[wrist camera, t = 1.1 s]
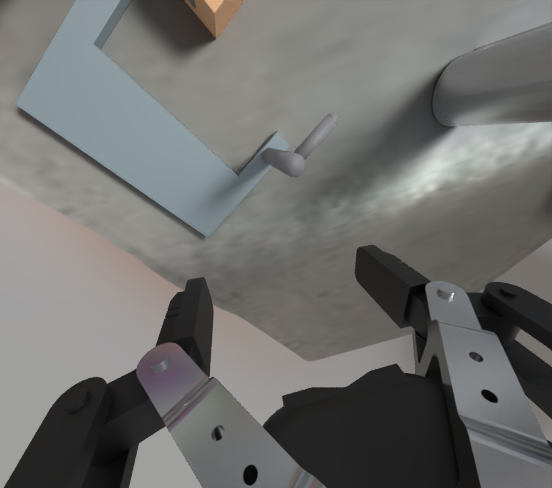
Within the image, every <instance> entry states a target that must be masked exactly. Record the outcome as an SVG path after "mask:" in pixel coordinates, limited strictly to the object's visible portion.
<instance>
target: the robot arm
mask: <svg viewBox="0 0 552 488" xmlns="http://www.w3.org/2000/svg"><path fill="white" fill-rule="evenodd" d="M432 105H433V112H434V116H435V118H436V119H437V121H438V122H439V123H440V124H442V125H444V126H469V125H492V124H512V123H533V122H552V22H550V23H547V24H545V25H542V26H539V27H536V28H533V29H530V30H528V31H525V32H522V33H519V34H516V35H513V36H510V37H508V38H505V39H502V40H499V41H496V42H493V43H490V44H488V45H485V46H482V47H479V48H477V49H476V50H475V51H472V52H469V53H467V54H464V55H461V56H459V57H457V58H456V59H455V60H453V61H452V62H451V63H450V64H449V65H448V66H447V67H446V68H445V70H444V71H443V73H442V74H441V76H440V78H439V80H438V82H437V84H436V87H435V90H434V94H433V103H432ZM355 276H356V279H357V281H358V283H359V284H360V285H361V286H362V287H363V288H364V289H365V290H366V291H367V293H368V294H369V295H370V296H371V297H372V298H373V299H374V300H375V301H376V302H377V303H378V305H379V306H380V307H381V308H382V309H383V310H384V311H385V312H386V313H387V314H388V315H389V317H390V318H391V319H392V320H393V321H394V322H395V323H396V324H397V325H398V326H399V327H400V329H401V328H404V327H408V326H412V327H413V328H414V330H413V334H412V335H413V345H414V346H413V347H414V358H415V374H409V373H404V372H403V371H402V370H401V369H400V367H399V366H398V365H397V364H393V365H390V366H386V367H382V368H379V369H375V370H372V371H369V372H368V373H366V374H365V375H364V376H362V377H361V378H359V379H358V380H356V381H355V382H353V383H352V384H350V385H349V386H347V387H343V388H340V387H338V388H337V387H336V388H334V387H333V388H332V387H330V388H326V387H325V388H324V387H323V388H322V387H320V388H319V387H318V388H317V387H312V388H308V389H305V390H301V391H298V392H294V393H291V394H287V395H284V396H282V398H283V407H282V408H280V409H279V410H277V411H276V412H275V413H274V414H273V415H272V416H271V417H270V418H269V419H268V420H267V421H266V422H265V423H264V425H263V426H261V425H260V424H259V423H258V422H257V421H256V420H255V419H254V418H253V417H252V415H251V414H250V413H249V412H248V411H247V410H246V409H245V408H244V407H243V406H242V405H241V404H240V403H239V402H238V401H237V400H236V399H235V398H234V397H233V396H232V394H231V393H230V392H229V391H228V390H227V389H226V388H225V387H224V386H223V385H222V384H221V383H220V382H219V381H218V380H217V379H216V378H214V377H212V378H209V377H210V362H211V346H212V330H213V304H212V300H211V296H210V293H209V290H208V286H207V283H206V280H205V278H204V277H200V278H195V279H190V280H188V281H187V284H186V287H185V291H183V292H178V293H177V294H176V295H175V296H174V297H173V299H172V300H171V301H170V304H169V307H168V311H167V313H166V316H165V319H164V322H163V325H162V328H161V331H160V334H159V338H158V341H157V344H156V347H155V348H153V349H151V350H150V351H149V352H147V353H146V354H145V355H144V357H143V358H142V359H141V360H140V362H139V364H138V366H137V369H135V370H134V371H132V372H130V373H128V374H126V375H124V376H122V377H120V378H118V379H116V380H114V381H112V382H110V383H108V384H107V383H106V381H105V380H104V379H102V378H100V377H93V378H88V379H86V380H83V381H81V382H79V383H77V384H75V385H74V386H72V387H71V388H70V389H68V390H67V391H66V392H65V393H63V394H62V395H61V396H60V397H59V398H58V399H57V400H56V402H55V403H54V404H53V405H52V407H51V408H50V410H49V412H48V413H47V415H46V417H45V419H44V420H43V422H42V424H41V426H40V427H39V429H38V430H37V432H36V434H35V435H34V438H33V439H32V441H31V442H30V444H29V446H28V447H27V449H26V451H25V452H24V454H23V456H22V458H21V459H20V461H19V463H18V464H17V466H16V468H15V470H14V471H13V473H12V475H11V476H10V478H9V480H8V481H7V483H6V485H5V487H4V488H129V484H130V480H131V476H132V471H133V466H134V463H135V458H136V454H137V450H138V445H139V443H140V442H141V441H143V440H145V439H146V438H148V437H149V436H151V435H153V434H154V433H155V432H157V431H159V430H160V429H162V428H164V427H165V426H166V427H167V429H168V430H169V432H170V433H171V435H172V437H173V439H174V440H175V442H176V444H177V446H178V447H179V449H180V451H181V452H182V454H183V456H184V457H185V459H186V461H187V462H188V464H189V466H190V467H191V469H192V471H193V472H194V474H195V476H196V478H197V479H198V481H199V482H200V484H201V486H202V488H552V442H550V441H548V440H546V438H545V436H544V434H543V432H542V430H541V427H540V425H539V423H538V421H537V419H536V417H535V415H534V413H533V411H532V409H531V406H530V404H529V402H528V400H527V398H526V396H527V397H528V398H529V399H530V400H531V401H533V402H534V403H535V404H536V405H537V406H538V407H539V408H540V409H541V410H542V411H544V412H545V413H546V414H547V415H548V416H549V417H550V418H551V419H552V367H551V366H550V365H548V364H547V363H545V362H544V361H543V360H542V359H540V358H539V357H538V356H536V355H535V354H534V353H532V352H531V351H529V350H528V349H527V348H525V347H524V346H523V345H521V344H520V343H519V342H517V341H516V340H515V338H516V336H517V334H518V333H519V331H520V329H522V330H524V331H525V332H527V333H528V334H529V335H531V336H532V337H534V338H535V339H537V340H539V341H540V342H541V343H543V344H544V345H545V346H547V347H548V348H550V349H551V350H552V304H550V303H548V302H547V301H545V300H543V299H541V298H539V297H537V296H536V295H534V294H532V293H530V292H528V291H526V290H524V289H522V288H520V287H518V286H515V285H511V284H508V283H501V282H491V283H488V284H487V285H486V287H485V289H484V291H483V293H466V292H465V291H463V290H462V289H461V288H459V287H457V286H455V285H453V284H450V283H446V282H439V281H435V282H431V281H430V280H428V279H427V278H425V277H424V276H423V275H421V274H420V273H418V272H417V271H415V270H414V269H413V268H411V267H409V266H408V265H407V264H405V263H404V262H402V261H401V260H400V259H398V258H397V257H396V256H394V255H391V254H389V253H386V252H383V251H382V250H380V249H379V248H378V247H376V246H375V245H368V246H363V247H359V248H358V249H357V254H356V265H355ZM525 395H526V396H525Z"/></svg>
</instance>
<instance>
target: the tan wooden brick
mask: <svg viewBox="0 0 552 488" xmlns="http://www.w3.org/2000/svg"><path fill="white" fill-rule="evenodd" d="M184 1H185V2H186V3H187V4H188V6H189V7H190V8H191V9H192V10H193V12H194V13H195V14H196V15H197V16H198V18H199V19H200V20H201V21H202V22H203V24H204V25H205V26H206V27H207V29H208V30H209V31H210V32H211V33H212V35H213V36H214V37H215V38H216V39H217V38H218V36H219V35H220V33H221V32H222V31H223V29H224V28H225V27H226V25H227V24H228V23H229V21H230V20H231V19H232V17H233V16H234V14H235V13H236V12H237V10H238V9H239V8H240V6H241V5H242V3H243V0H184Z"/></svg>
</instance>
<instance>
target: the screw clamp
mask: <svg viewBox="0 0 552 488" xmlns="http://www.w3.org/2000/svg"><path fill="white" fill-rule="evenodd" d="M130 2H131V0H76V1H75V2H74V4H73V6H72V8H71V9H70V11H69V13H68V14H67V16H66V18H65V20H64V21H63V23H62V25H61V26H60V28H59V30H58V32H57V33H56V35H55V37H54V38H53V40H52V42H51V44H50V45H49V47H48V49H47V50H46V52H45V54H44V56H43V57H42V59H41V61H40V62H39V64H38V66H37V68H36V69H35V71H34V73H33V74H32V76H31V78H30V80H29V81H28V83H27V85H26V86H25V88H24V90H23V92H22V93H21V95H20V97H19V98H18V100H17V102H16V105H17V106H18V107H20V108H21V109H23V110H24V111H26V112H27V113H29V114H30V115H31V116H33V117H34V118H36V119H37V120H39V121H40V122H41V123H43V124H44V125H46V126H47V127H49V128H50V129H52V130H53V131H54V132H56V133H57V134H59V135H60V136H62V137H63V138H65V139H66V140H67V141H69V142H70V143H72V144H73V145H75V146H76V147H78V148H79V149H80V150H82V151H83V152H85V153H86V154H88V155H89V156H91V157H92V158H93V159H95V160H96V161H98V162H99V163H101V164H102V165H103V166H105V167H106V168H108V169H109V170H111V171H112V172H114V173H115V174H116V175H118V176H119V177H121V178H122V179H124V180H125V181H127V182H128V183H129V184H131V185H132V186H134V187H135V188H137V189H138V190H140V191H141V192H142V193H144V194H145V195H147V196H148V197H150V198H151V199H153V200H154V201H155V202H157V203H158V204H160V205H161V206H163V207H164V208H165V209H167V210H168V211H170V212H171V213H173V214H174V215H176V216H177V217H178V218H180V219H181V220H183V221H184V222H186V223H187V224H189V225H190V226H191V227H193V228H194V229H196V230H197V231H199V232H200V233H202V234H203V235H204V236H206V237H207V238H209V237H210V236H211V234H212V233H213V232H214V231H215V230H216V229H217V228H218V227H219V225H220V224H221V223H222V222H223V221H224V220H225V219H226V218H227V216H228V215H229V214H230V213H231V212H232V211H233V210H234V209H235V207H236V206H237V205H238V204H239V203H240V202H241V201H242V200H243V199H244V197H245V196H246V195H247V194H248V193H249V192H250V191H251V190H252V188H253V187H254V186H255V185H256V184H257V183H258V182H259V181H260V179H261V178H262V177H263V176H264V175H265V174H266V173H267V172H268V170H269V169H270V168H271V167H272V166H273V167H275V168H277V169H278V170H280V171H282V172H283V173H285V174H287V175H289V176H291V177H297V176H299V175H301V174H302V173H303V171H304V169H305V159H306V158H307V157H308V156H309V155H310V153H311V152H312V151H313V150H314V149H315V148H316V147H317V146H318V145H319V144H320V143H321V141H322V140H323V139H324V138H325V137H326V136H327V135H328V134H329V133H330V132H331V131H332V130H333V128H334V127H335V126H336V125H337V122H338V119H337V116H336V115H335V114H328V115H327V116H326V117H325V118H324V119H323V120H322V121H321V123H320V124H319V125H318V126H317V127H316V128H315V129H314V130H313V131H312V133H311V134H310V135H309V136H308V137H307V138H306V139H305V140H304V141H303V143H302V144H301V145H300V146H299V147H298V148H297V149H296V150H295V151H294V152H293V153H292V152H287V151H286V150H287V149H288V148H289V147H290V146H291V145H290V144H289V143H288V142H287V141H286V140H285V138H284V137H283V136H282V135H281V134H280V133H279V131H276V132H275V133H274V134H273V135H272V136H271V138H270V139H269V140H268V141H267V142H266V143H265V145H264V146H263V147H262V148H261V149H260V150H259V151H258V153H257V154H256V155H255V156H254V157H253V158H252V160H251V161H250V162H249V163H248V164H247V165H246V167H245V168H244V169H243V170H242V171H241V172H240V173H239V175H237V174H236V173H235V172H234V171H233V170H232V169H231V168H230V167H228V166H227V165H226V164H225V163H224V162H223V161H222V160H221V159H220V158H219V157H218V156H216V155H215V154H214V153H213V152H212V151H211V150H210V149H209V148H208V147H207V146H206V145H204V144H203V143H202V142H201V141H200V140H199V139H198V138H197V137H196V136H195V135H194V134H192V133H191V132H190V131H189V130H188V129H187V128H186V127H185V126H184V125H183V124H181V123H180V122H179V121H178V120H177V119H176V118H175V117H174V116H173V115H172V114H171V113H169V112H168V111H167V110H166V109H165V108H164V107H163V106H162V105H161V104H160V103H159V102H157V101H156V100H155V99H154V98H153V97H152V96H151V95H150V94H149V93H148V92H147V91H145V90H144V89H143V88H142V87H141V86H140V85H139V84H138V83H137V82H136V81H134V80H133V79H132V78H131V77H130V76H129V75H128V74H127V73H126V72H125V71H124V70H122V69H121V68H120V67H119V66H118V65H117V64H116V63H115V62H114V61H113V60H112V59H110V58H109V57H108V56H107V55H106V54H105V53H104V52H103V51H102V50H101V48H102V46H103V44H104V43H105V41H106V40H107V38H108V37H109V35H110V33H111V32H112V30H113V29H114V27H115V26H116V24H117V22H118V21H119V19H120V18H121V16H122V14H123V13H124V11H125V10H126V8H127V7H128V5H129V3H130Z"/></svg>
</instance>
